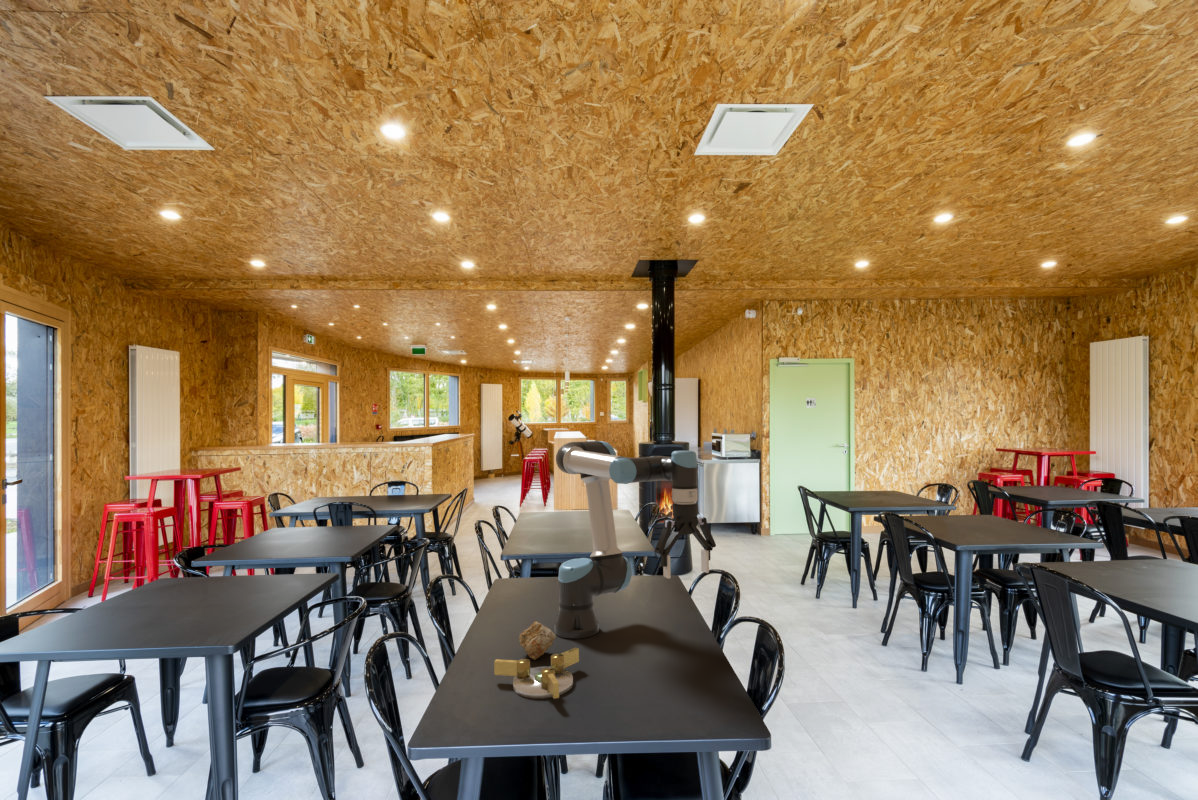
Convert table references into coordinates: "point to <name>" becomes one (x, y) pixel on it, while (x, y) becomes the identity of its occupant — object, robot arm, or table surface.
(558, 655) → the knob
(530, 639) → the rock
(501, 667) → the knob
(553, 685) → the knob
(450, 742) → the table surface
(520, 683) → the tribrach plate
